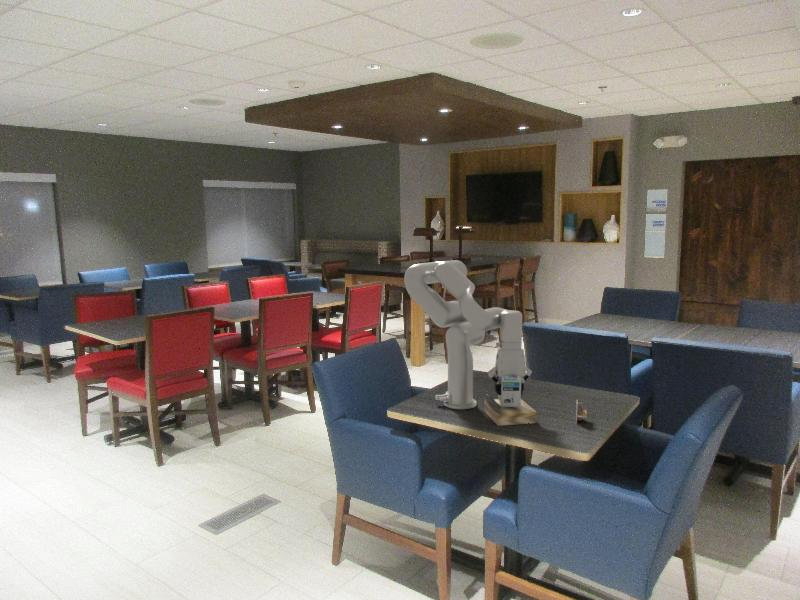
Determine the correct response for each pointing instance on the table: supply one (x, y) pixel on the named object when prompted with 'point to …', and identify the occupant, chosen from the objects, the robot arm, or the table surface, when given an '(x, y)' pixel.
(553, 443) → the table surface
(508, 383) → the light bulb box
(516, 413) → the beige flat block
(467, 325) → the robot arm
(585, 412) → the architectural model
